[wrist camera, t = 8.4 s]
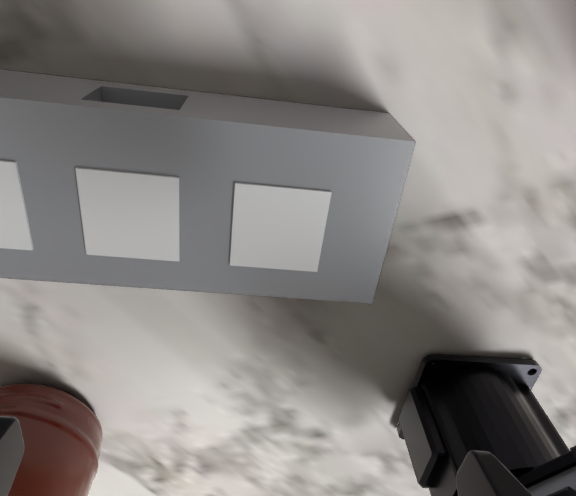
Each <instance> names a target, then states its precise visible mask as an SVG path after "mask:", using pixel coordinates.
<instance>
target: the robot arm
mask: <svg viewBox="0 0 576 496" xmlns="http://www.w3.org/2000/svg"><path fill="white" fill-rule="evenodd" d="M432 363H434V364H432ZM541 370H542V369H541V367H540V366H539V364H538V363H537V362H536V361H535V360H526V359H509V358H492V357H475V356H458V355H441V354H430V355H428V356H426V357H425V358H424V359H423V360H422V363H421V366H420V368H419V371H418V374H417V376H416V379H415V382H414V384H413V386H412V387H411V389H410V390H409V392H408V394H407V397H406V400H405V403H404V405H403V408H402V411H401V413H400V416H399V425H398V427H397V431H398V435H399V437H400V438H401V439H405V442H406V445H407V448H408V452H409V455H410V458H411V462H412V465H413V468H414V471H415V475H416V478H417V481H418V483H419V484H420V486H421V487H422V488H429V490H430V494H431V496H576V446H574V447H572V448H570V450H571V451H570V450H569V449H568V447H567V446H566V444H565V443H564V441H563V440H562V438H561V436H560V435H559V433H558V432H557V430H556V429H555V427H554V426H553V424H552V422H551V421H550V419H549V418H548V416H547V415H546V413H545V412H544V410H543V409H542V407H541V405H540V404H539V402H538V401H537V399H536V398H535V396H534V395H533V393H532V391H531V389H532V387H533V386H534V384H535V382H536V380H537V379H538V377H539V375H540V373H541ZM23 453H24V440H23V436H22V431H21V427H20V423H19V420H18V419H17V418H16V417H9V416H0V496H8V493H9V491H10V488H11V485H12V483H13V480H14V478H15V475H16V472H17V470H18V467H19V465H20V462H21V459H22V457H23Z"/></svg>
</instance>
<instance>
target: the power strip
mask: <svg viewBox="0 0 576 496" xmlns="http://www.w3.org/2000/svg"><path fill="white" fill-rule="evenodd" d="M415 143H416V141H415V140H414V139H413V138H412V137H411V136H410V135H409V134H408V133H407V131H406V130H405V129H404V128H403V127H402V126H401V125H400V124H399V123H398V122H397V121H396V119H395V118H394V117H393V116H392V115H391V114H390V113H383V112H375V111H366V110H357V109H348V108H339V107H330V106H321V105H312V104H304V103H295V102H286V101H277V100H268V99H259V98H250V97H241V96H233V95H224V94H215V93H206V92H197V91H188V90H179V89H170V88H161V87H153V86H144V85H135V84H126V83H117V82H108V81H99V80H90V79H82V78H73V77H64V76H55V75H46V74H37V73H28V72H19V71H11V70H2V69H0V278H8V279H23V280H37V281H52V282H66V283H80V284H95V285H109V286H124V287H138V288H153V289H167V290H182V291H196V292H211V293H225V294H239V295H254V296H268V297H283V298H297V299H312V300H326V301H341V302H355V303H370V304H372V302H373V299H374V295H375V291H376V288H377V284H378V280H379V277H380V273H381V269H382V265H383V262H384V258H385V254H386V251H387V247H388V243H389V240H390V236H391V232H392V228H393V225H394V221H395V217H396V214H397V210H398V206H399V203H400V199H401V195H402V191H403V188H404V184H405V180H406V177H407V173H408V169H409V166H410V162H411V158H412V154H413V151H414V147H415Z"/></svg>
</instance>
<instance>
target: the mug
mask: <svg viewBox="0 0 576 496" xmlns="http://www.w3.org/2000/svg"><path fill="white" fill-rule="evenodd" d="M0 416H9V417H16V418H17V419H18V420H19V423H20V427H21V431H22V436H23V440H24V453H23V457H22V459H21V462H20V465H19V467H18V470H17V472H16V475H15V478H14V480H13V483H12V485H11V488H10V491H9V493H8V496H88V493H89V490H90V487H91V484H92V481H93V479H94V478H95V476H96V473H97V469H98V458H99V453H100V447H101V442H102V428H101V425H100V423H99V420H98V419H97V417H96V416H95V414H94V413H93V412H92V411H91V410H90V408H89V407H87V406H86V405H85V404H84V403H83V402H82V401H80V400H79V399H77V398H76V397H74V396H73V395H71V394H69V393H67V392H64V391H62V390H59V389H56V388H53V387H50V386H46V385H41V384H12V385H6V386H2V387H0Z"/></svg>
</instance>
